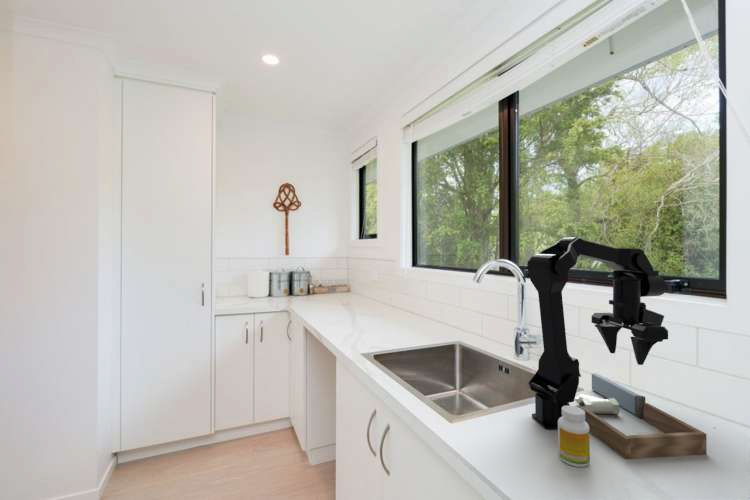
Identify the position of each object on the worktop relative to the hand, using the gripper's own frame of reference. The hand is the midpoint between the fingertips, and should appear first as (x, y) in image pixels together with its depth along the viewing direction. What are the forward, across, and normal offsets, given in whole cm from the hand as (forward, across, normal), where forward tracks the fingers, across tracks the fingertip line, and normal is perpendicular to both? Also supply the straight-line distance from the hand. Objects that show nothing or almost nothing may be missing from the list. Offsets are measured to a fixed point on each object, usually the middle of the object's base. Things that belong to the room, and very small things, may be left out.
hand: (625, 358), depth 90 cm
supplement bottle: (+13, -20, +26) cm, 36 cm away
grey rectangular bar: (+12, +3, 0) cm, 13 cm away
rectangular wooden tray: (+13, -13, +8) cm, 20 cm away
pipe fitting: (+13, -1, +9) cm, 16 cm away
